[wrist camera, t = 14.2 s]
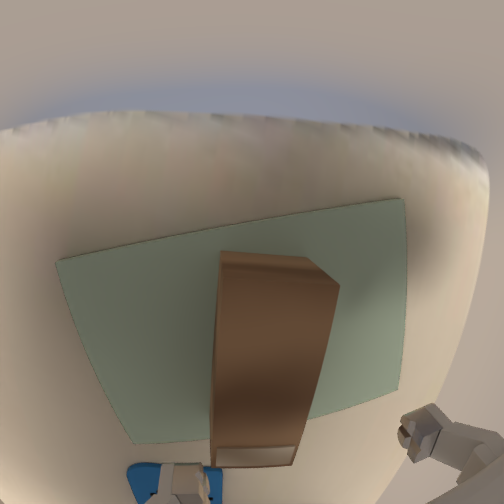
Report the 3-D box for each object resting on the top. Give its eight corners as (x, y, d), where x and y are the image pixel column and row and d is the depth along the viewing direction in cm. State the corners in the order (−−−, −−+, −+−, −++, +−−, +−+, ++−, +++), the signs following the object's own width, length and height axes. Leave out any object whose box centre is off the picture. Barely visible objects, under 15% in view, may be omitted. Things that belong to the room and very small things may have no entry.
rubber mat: (394, 385, 20) (397, 389, 19) (134, 438, 18) (133, 444, 18) (398, 198, 16) (404, 198, 16) (59, 259, 15) (54, 262, 14)
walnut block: (220, 250, 15) (223, 279, 11) (307, 257, 16) (341, 286, 11) (209, 415, 18) (211, 469, 13) (277, 416, 18) (292, 467, 14)
